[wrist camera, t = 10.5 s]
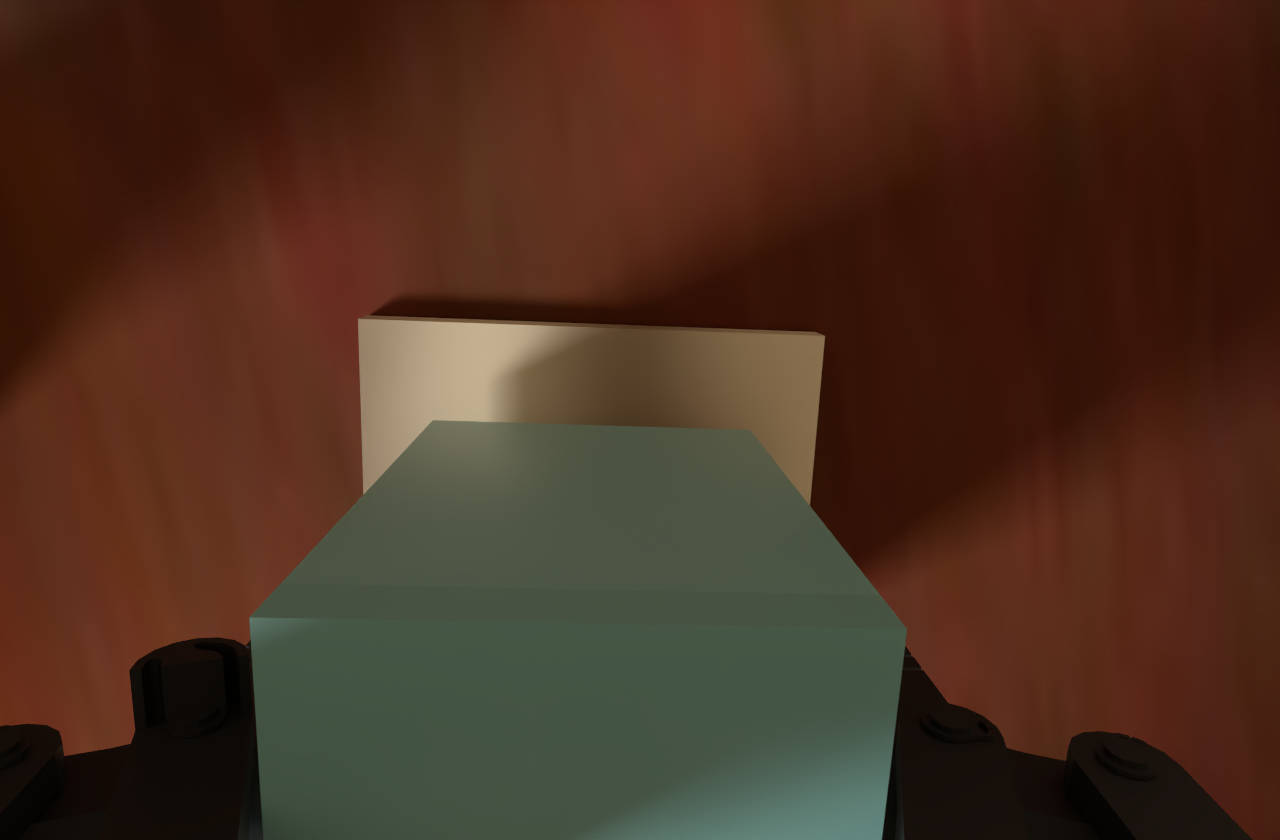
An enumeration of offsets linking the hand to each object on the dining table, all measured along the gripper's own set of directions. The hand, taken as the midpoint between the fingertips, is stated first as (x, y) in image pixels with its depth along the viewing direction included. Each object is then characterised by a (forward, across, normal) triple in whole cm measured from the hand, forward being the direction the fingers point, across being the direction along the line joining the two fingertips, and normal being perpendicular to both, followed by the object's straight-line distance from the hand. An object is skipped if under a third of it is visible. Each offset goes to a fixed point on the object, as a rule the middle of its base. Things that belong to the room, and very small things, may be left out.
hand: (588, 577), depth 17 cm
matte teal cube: (0, 0, 0) cm, 0 cm away
